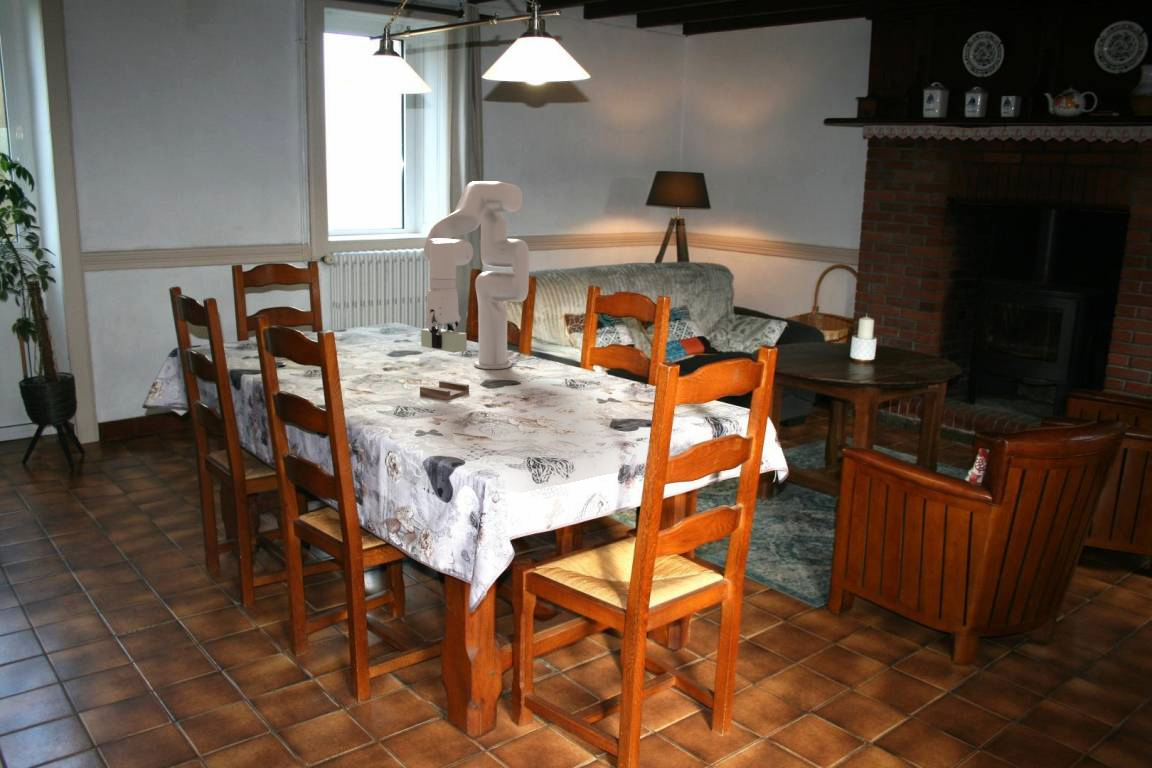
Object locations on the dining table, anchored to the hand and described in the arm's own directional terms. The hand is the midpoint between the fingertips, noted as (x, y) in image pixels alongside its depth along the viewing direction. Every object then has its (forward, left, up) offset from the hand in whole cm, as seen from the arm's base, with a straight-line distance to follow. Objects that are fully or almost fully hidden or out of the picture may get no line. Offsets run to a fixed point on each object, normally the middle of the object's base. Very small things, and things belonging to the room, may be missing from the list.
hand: (443, 346), depth 287 cm
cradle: (0, 0, -15) cm, 15 cm away
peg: (0, 0, -1) cm, 1 cm away
